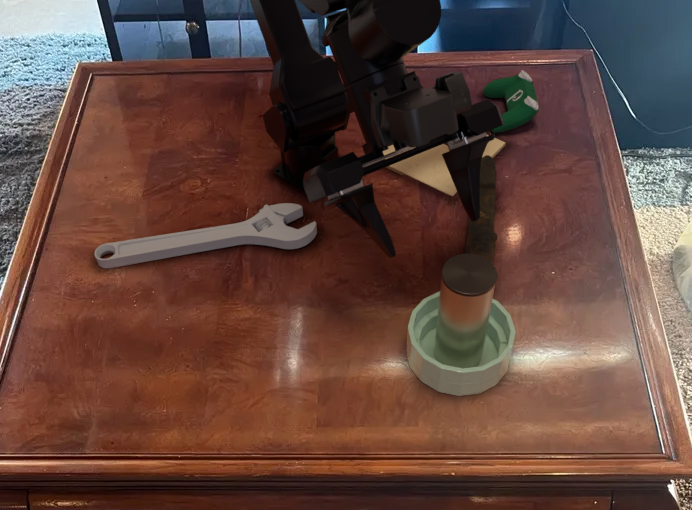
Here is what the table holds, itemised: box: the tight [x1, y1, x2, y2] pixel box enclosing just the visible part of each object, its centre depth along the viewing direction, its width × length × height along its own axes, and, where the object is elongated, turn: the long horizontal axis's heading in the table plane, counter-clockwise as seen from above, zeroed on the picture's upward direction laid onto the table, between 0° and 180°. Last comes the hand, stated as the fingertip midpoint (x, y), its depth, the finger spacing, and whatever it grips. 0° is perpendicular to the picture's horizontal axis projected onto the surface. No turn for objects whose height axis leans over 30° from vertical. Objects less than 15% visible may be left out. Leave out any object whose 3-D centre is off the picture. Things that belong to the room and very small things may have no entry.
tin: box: [434, 253, 498, 368], centre depth 77 cm, size 5×5×12 cm
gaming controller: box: [483, 69, 540, 134], centre depth 104 cm, size 9×4×6 cm
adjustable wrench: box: [94, 202, 318, 269], centre depth 93 cm, size 25×6×2 cm, turn 96°
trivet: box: [383, 133, 506, 198], centre depth 101 cm, size 12×12×1 cm
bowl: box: [405, 290, 517, 397], centre depth 80 cm, size 10×10×4 cm
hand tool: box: [464, 155, 499, 278], centre depth 90 cm, size 19×4×5 cm, turn 168°
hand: (435, 238), depth 75 cm, fingers open, 9 cm apart
